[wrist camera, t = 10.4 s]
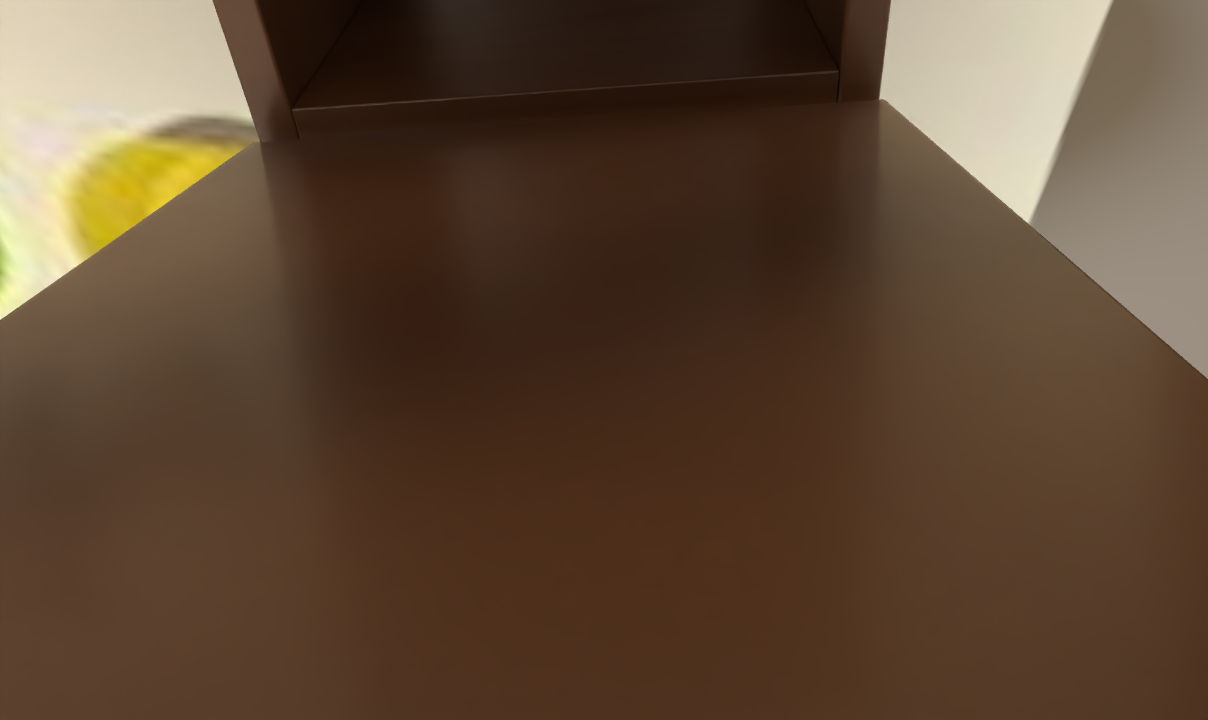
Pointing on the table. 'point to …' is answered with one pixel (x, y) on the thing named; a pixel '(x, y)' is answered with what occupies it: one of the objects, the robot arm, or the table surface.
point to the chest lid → (598, 442)
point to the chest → (540, 60)
